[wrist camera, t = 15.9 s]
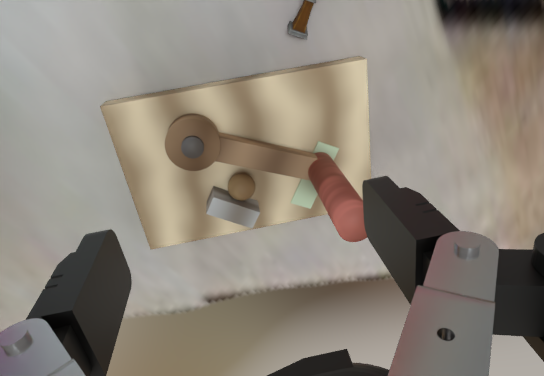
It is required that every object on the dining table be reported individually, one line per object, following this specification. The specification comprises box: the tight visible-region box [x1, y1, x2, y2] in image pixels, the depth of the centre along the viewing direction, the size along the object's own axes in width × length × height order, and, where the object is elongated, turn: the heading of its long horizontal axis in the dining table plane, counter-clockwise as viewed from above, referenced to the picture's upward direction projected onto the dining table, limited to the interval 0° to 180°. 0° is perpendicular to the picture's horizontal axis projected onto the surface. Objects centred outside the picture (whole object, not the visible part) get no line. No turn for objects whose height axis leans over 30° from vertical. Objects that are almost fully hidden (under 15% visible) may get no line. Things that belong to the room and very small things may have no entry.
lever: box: [165, 114, 367, 242], centre depth 34 cm, size 17×5×12 cm, turn 75°
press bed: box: [100, 56, 371, 249], centre depth 39 cm, size 25×16×5 cm, turn 99°
